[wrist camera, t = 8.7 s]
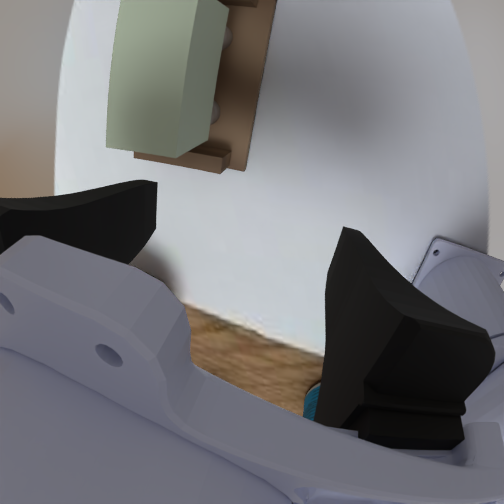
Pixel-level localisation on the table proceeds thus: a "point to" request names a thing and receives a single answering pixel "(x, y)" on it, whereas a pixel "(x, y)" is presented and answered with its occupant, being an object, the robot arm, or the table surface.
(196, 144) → the pale green block
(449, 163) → the table surface
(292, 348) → the table surface
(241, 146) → the peg frame
